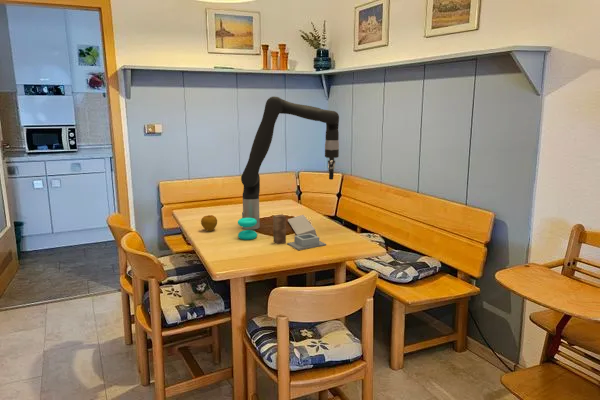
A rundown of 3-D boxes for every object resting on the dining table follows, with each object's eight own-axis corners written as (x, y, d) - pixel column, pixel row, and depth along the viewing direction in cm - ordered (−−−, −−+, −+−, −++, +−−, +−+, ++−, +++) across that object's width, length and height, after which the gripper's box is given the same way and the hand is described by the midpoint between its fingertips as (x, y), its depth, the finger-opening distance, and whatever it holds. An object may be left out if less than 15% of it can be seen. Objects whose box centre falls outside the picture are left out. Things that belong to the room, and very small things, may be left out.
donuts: (243, 216, 245) (260, 217, 242) (243, 234, 247) (260, 236, 244) (234, 220, 236) (251, 222, 233) (234, 239, 238) (252, 241, 235)
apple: (209, 227, 261) (209, 212, 259) (221, 230, 256) (220, 214, 254) (198, 231, 254) (197, 215, 252) (209, 233, 249) (208, 217, 247)
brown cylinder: (277, 244, 230) (276, 217, 227) (273, 242, 233) (273, 215, 230) (285, 242, 232) (285, 215, 229) (282, 240, 236) (282, 214, 233)
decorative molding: (299, 243, 242) (317, 237, 243) (297, 234, 241) (315, 229, 242) (289, 227, 275) (305, 222, 276) (287, 219, 273) (303, 214, 275)
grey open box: (298, 250, 220) (298, 241, 219) (287, 244, 229) (287, 236, 228) (326, 245, 228) (326, 237, 227) (314, 240, 237) (314, 231, 236)
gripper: (325, 147, 255) (324, 176, 258) (324, 149, 241) (323, 180, 244) (338, 147, 254) (338, 176, 257) (338, 149, 240) (338, 180, 244)
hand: (331, 178), depth 251 cm, fingers open, 8 cm apart
